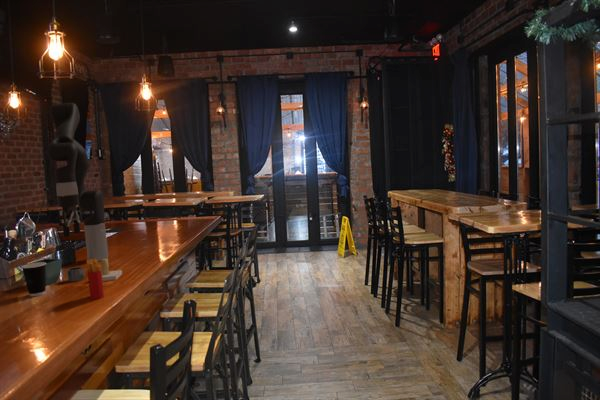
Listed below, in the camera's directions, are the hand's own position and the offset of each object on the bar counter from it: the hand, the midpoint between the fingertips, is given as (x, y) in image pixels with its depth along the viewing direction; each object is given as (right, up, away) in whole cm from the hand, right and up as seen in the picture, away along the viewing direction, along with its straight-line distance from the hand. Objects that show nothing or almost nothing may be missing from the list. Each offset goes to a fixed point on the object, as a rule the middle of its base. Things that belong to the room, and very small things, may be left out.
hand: (72, 234), depth 194 cm
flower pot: (-10, -19, 0) cm, 22 cm away
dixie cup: (-5, -21, -16) cm, 27 cm away
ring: (+1, -18, +2) cm, 18 cm away
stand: (+13, -17, +2) cm, 22 cm away
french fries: (+20, -20, -25) cm, 38 cm away
